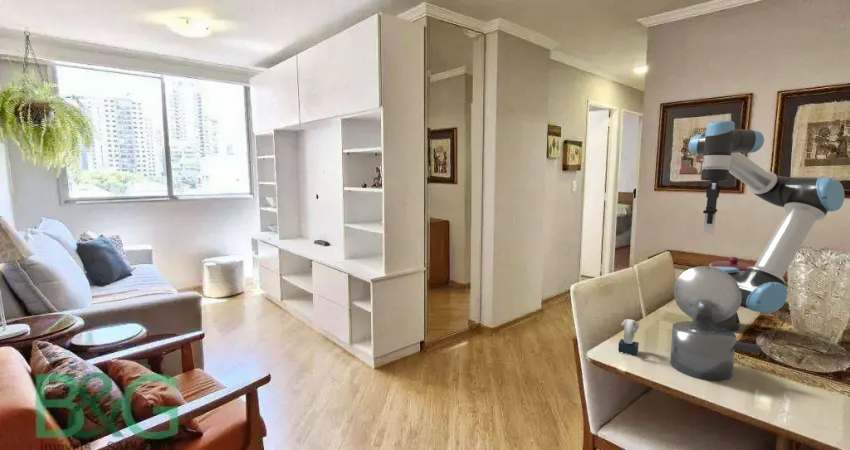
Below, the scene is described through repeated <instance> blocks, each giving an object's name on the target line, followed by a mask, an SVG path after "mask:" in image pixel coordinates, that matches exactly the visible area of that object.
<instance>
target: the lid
mask: <svg viewBox="0 0 850 450" xmlns="http://www.w3.org/2000/svg"><path fill="white" fill-rule="evenodd" d="M673 298H674V300H675V303H676V305H677V306H678V308H679V309H680V310H681V311H682V312H683V313H684V314H685V315H686V316H688V317H689V318H691V319H692V320H693V319H695V320H698V321H702V322H708V323H714V322H720V321H724V320H726V319H728V318H730V317H731V316H733V315H734V314H735V313H736V312H737V313H738V310H739V309H740V307H741V306H740V305H741V300H742V294H741V290H740V287H739V285H738V283H737V282H736V280H735V279H734V278H733V277H732V276H731V275H729V274H728V273H726V272H725V271H723V270H721V269H718V268H715V267H710V266H709V265H708V266H707V265H704V266H703V265H700V266H695V267H692V268H691V267H690V268H689V269H687V270H686V271H684V272H682V273H681V274H680V275H679V276H678V278H677V279H676V281H675V284H674V287H673Z"/></svg>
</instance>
